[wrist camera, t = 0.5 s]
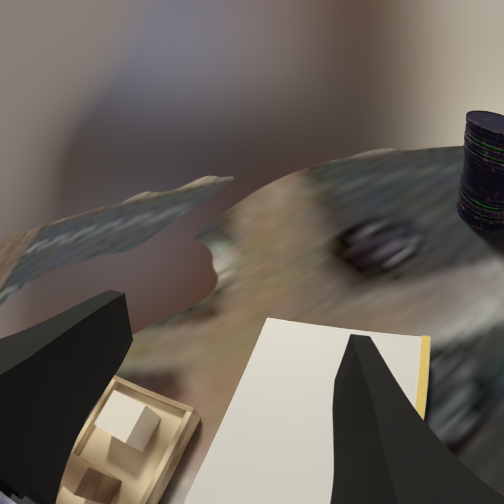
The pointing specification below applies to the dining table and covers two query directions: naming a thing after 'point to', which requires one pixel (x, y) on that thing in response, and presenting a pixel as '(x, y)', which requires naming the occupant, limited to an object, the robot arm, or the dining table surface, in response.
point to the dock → (294, 415)
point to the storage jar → (483, 172)
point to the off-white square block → (128, 420)
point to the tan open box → (127, 454)
